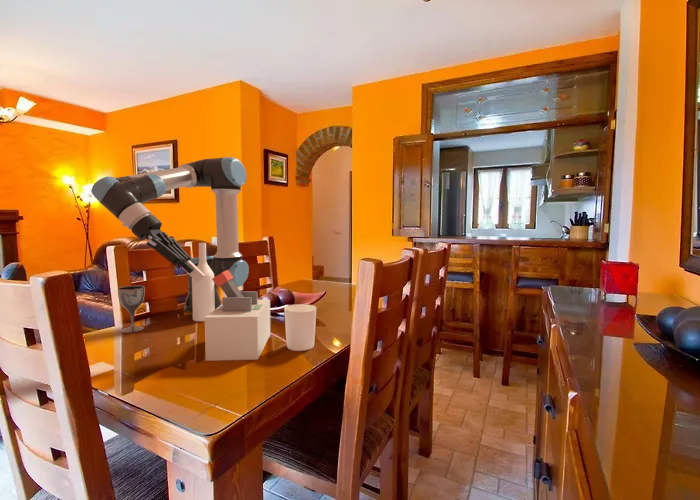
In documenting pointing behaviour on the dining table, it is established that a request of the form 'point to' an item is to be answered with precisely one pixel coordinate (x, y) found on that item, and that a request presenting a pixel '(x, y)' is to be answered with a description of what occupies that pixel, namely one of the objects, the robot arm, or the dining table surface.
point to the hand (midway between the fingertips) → (201, 278)
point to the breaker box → (237, 328)
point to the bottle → (203, 289)
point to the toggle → (227, 284)
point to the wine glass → (131, 303)
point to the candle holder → (300, 326)
